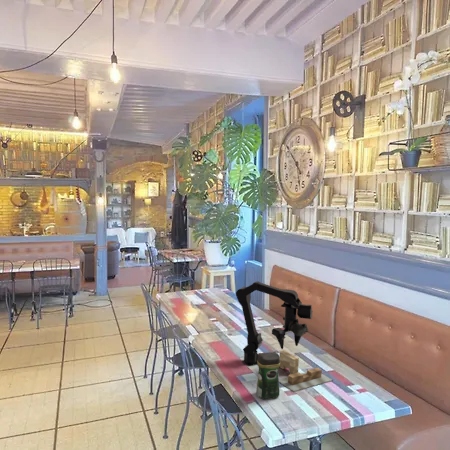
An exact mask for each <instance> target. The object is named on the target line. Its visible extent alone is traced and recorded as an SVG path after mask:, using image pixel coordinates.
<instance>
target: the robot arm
mask: <svg viewBox="0 0 450 450" xmlns="http://www.w3.org/2000/svg"><path fill="white" fill-rule="evenodd" d="M255 291H258V292H261V293H263V294H266V295H270V296H273V297H276V298H279V300H281V301H282V302H283V303H282V304H281V305H280V307H281V308H284V317H282V320H283V321H284V324H283V325H282V328H280V327H275V328H274V327H273V329H271V335H272V336H274V337H275V338H276V340H277V342H278V344H279V347H280V349H281V350H284V347H285V346H284V343H285V339H286V334H289V333H293V335H294V337H293V338H294V345H295V347H297V346H298V345H299V342H300V340H301V339H302V336H304V335H305V334H306V333H309V331H308V330H309V329H308V327H307V326H308V325H307V324H306V323H299V319H306V320H312V318H313V306H312V304H303V303H302V302H303V301H301V299H300V298H299V295H298V292H297V291H296V290H294V289H293V290H292V289H286V288H285V289H284V288H278V287H275V286H272V285H269V284H265V283H263V282H260V281H254V282H253V283H251V284H249V285H248V286H243V287H241V288H238V289H237V290H236V292H235V296H236V299H237V302H239V305H240V306H241V309H242V313H243V318H244V322H245V326H246V331H247V337H246V338H247V339H246V341H247V345H245V346H244V347H243V349H242V351H243V353H244V354H243V360H242V363H244V364H245V365H246V366H248V367H251V366H256V365H258V363H257V359H258V354H259V352H258V349H259V348H260V347H261V345H262V344H263V337H262V333H261V332H258V331H257V328H256V324H255V319H254V315H253V310H252V306H251V300H252V295H251V294H252V293H253V292H255ZM297 317H298V318H299V319H298V318H297Z"/></svg>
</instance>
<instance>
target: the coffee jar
mask: <svg viewBox="0 0 450 450" xmlns="http://www.w3.org/2000/svg"><path fill="white" fill-rule="evenodd" d="M257 363H258V364H257V367H258V372H257V373H258V375H257V383H256V390H255V391H256V395H257V397H258V398H260V399H262V400H270V399H271V400H272V399H277V398H279V396H280V383H279V379H280V378H279V368H280V367H279V366H280V354H279V353H278V352H276V351H272V352H271V351H270V352H260V353H259V352H258V359H257Z"/></svg>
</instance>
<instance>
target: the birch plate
mask: <svg viewBox="0 0 450 450" xmlns="http://www.w3.org/2000/svg"><path fill="white" fill-rule="evenodd" d="M279 357H280V366H279V368H280V369H282V370H286V369H288V370H289V375H291V374H295V373H298V372H299V364H300V363H299V361H300V359H299V358H298V357H297V356H295V355H293V354H291V353H290V352H288V351H286V350H279Z"/></svg>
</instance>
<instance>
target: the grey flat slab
mask: <svg viewBox="0 0 450 450" xmlns="http://www.w3.org/2000/svg"><path fill="white" fill-rule="evenodd" d="M278 379H279V384H281V385H282V386H284V387H285V388H287V389H288V390H290V391H291V392H293V393H295V392H299V391H302V390H305V389H309V388H312V387H315V386H320V385H323V384H327V383H330V382H333V381H334V379H332V378H331V377H328V376H327V375H325V374H323V373H322V369H320V368H319V367H314V368H311V369H307V370H306V371H305V372H299V371H298V373H295V374H288V376H286V377H283V378H282V377H281V378H278Z"/></svg>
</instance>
